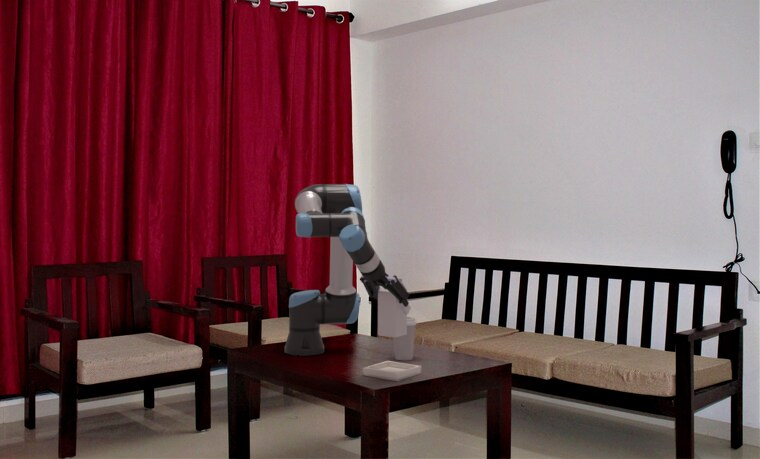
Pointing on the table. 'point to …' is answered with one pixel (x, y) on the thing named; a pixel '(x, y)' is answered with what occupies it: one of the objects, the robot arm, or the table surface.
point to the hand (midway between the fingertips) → (398, 309)
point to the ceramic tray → (392, 370)
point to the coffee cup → (405, 342)
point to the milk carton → (390, 314)
